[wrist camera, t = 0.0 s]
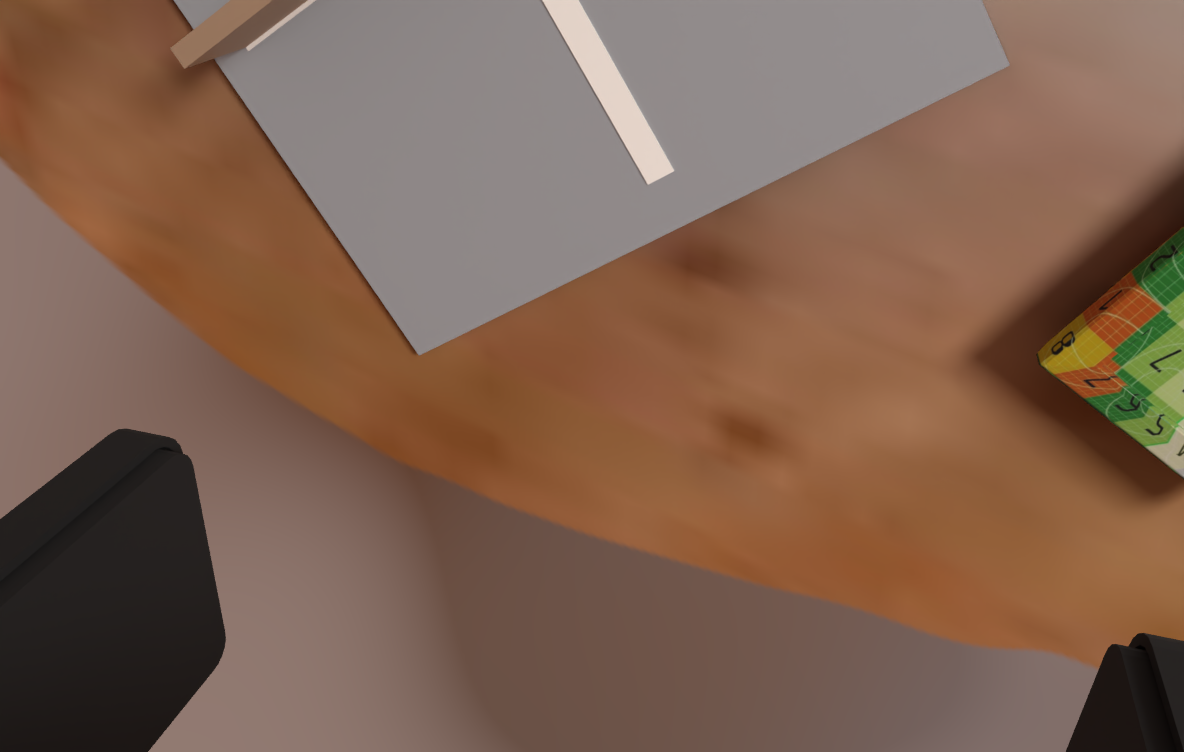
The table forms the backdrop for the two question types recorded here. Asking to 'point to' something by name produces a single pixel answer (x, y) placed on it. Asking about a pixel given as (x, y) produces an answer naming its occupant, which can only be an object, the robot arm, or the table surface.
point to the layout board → (561, 121)
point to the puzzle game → (1132, 354)
